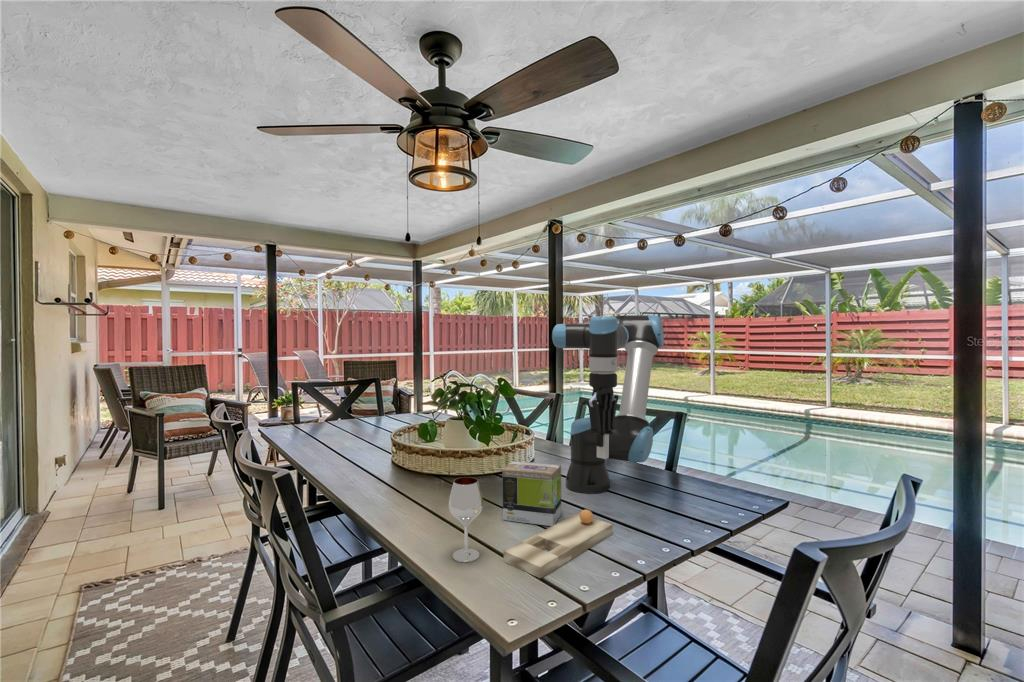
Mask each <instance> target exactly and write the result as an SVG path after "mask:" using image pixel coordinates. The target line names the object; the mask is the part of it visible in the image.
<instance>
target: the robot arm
mask: <svg viewBox="0 0 1024 682" xmlns="http://www.w3.org/2000/svg"><path fill="white" fill-rule="evenodd" d="M663 326H664V325H663V322H662V319H661V317H660V316H659V315H654V314H653V315H652V314H647V315H645V314H642V315H639V314H638V315H637V314H636V315H634V314H632V315H630V314H629V315H627V314H626V315H624V314H623V315H611V316H610V315H609V316H608V315H607V316H606V315H605V316H604V315H601V316H600V315H599V316H591V318H590V319H589V321H588V322H578V323H558V324H556V325H555V326H554V327H553V329H552V333H551V339H552V343H553V345H554V347H556V348H557V349H564V350H565V349H589V357H588V358H589V360H588V361H589V364H588V367H589V368H588V370H589V371H590V373H589V374H588V375H589V376H588V377H589V379H588V382H589V384H588V385H589V386H590V387H592V392H591V397H590V398H589V399H586V404H587V407H588V415H589V417H583V418H582V417H581V418H578V419H576V420H573V422H572V423H571V425H570V433H569V434H570V435H569V436H570V464H569V467H568V470H567V474H566V476H565V487H566V488H567V489H569V490H571V491H573V492H577V493H581V494H600V493H604V492H607V491H609V490H610V489H611V478H610V476H609V472H608V469H607V465H606V460H607V459H608V460H615V461H623V462H624V461H625V462H629V463H645V462H646V461H647V460H648V458H649V457H650V454H651V451H652V447H653V443H654V429H653V427H650V422H649V420H648V419H647V418H646V414H647V405H648V398H649V391H650V390H649V388H650V381H651V374H652V373H651V371H652V367H653V366H652V364H653V357H655V355H657V353H658V351H659V348H663V347H664V344H665V339H664V337H665V335H664V327H663ZM623 347H624V350H625V351H626V352H627V359H626V365H625V371H624V372H625V373H624V378H623V385H622V393H621V397H620V398H621V399H620V406H619V411H618V412H619V413H618V414H616V413H617V404H618V401H619V395H617V394H615V392H614V388H616V387H618V374H617V373H616V372H617V371H618V363H619V362H618V350H619V349H621V348H623Z"/></svg>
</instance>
